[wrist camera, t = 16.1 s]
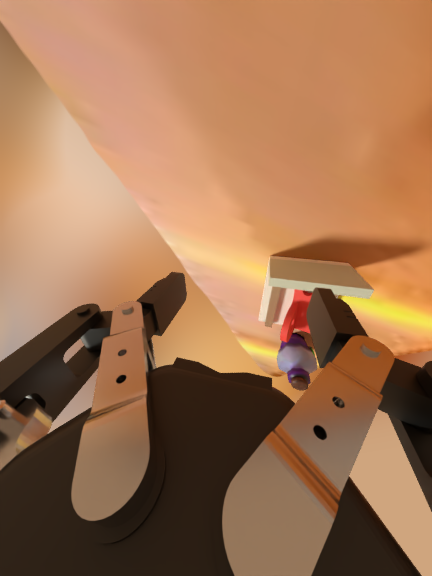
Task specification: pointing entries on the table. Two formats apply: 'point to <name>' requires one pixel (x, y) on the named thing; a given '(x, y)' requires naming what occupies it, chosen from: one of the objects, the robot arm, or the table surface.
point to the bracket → (296, 315)
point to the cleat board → (305, 283)
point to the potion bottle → (297, 361)
